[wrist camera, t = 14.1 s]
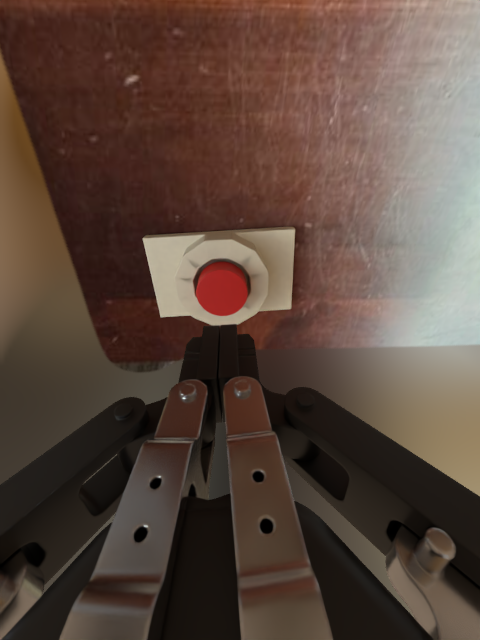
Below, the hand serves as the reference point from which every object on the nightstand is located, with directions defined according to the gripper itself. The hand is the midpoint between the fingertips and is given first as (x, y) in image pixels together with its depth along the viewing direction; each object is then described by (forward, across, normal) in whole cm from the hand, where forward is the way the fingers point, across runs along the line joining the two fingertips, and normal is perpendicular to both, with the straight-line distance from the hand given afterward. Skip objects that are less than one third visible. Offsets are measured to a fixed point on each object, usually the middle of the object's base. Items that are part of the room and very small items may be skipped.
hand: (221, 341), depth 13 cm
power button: (+6, 0, 0) cm, 6 cm away
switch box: (+9, 0, 0) cm, 9 cm away
